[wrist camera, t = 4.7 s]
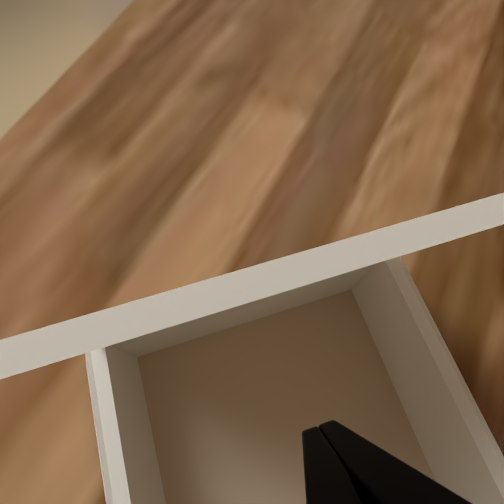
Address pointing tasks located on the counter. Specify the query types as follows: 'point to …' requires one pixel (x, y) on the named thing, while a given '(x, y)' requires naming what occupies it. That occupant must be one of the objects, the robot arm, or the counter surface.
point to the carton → (287, 396)
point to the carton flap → (242, 286)
